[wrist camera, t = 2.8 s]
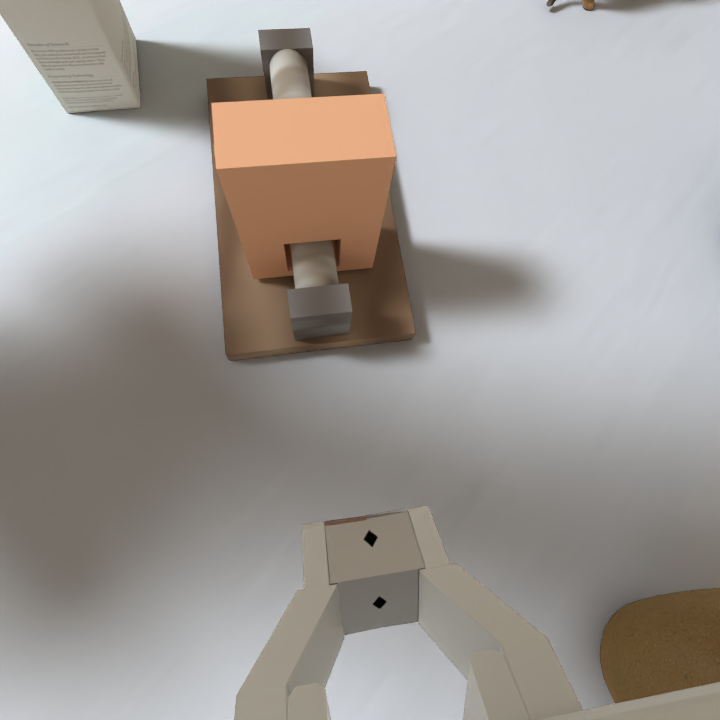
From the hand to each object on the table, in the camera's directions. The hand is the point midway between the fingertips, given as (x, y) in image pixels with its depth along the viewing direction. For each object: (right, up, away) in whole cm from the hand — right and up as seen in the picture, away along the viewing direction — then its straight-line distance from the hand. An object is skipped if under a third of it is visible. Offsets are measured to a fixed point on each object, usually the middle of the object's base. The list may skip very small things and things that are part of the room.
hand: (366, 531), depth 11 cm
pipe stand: (-5, +17, +27) cm, 32 cm away
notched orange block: (-4, +13, +24) cm, 27 cm away
